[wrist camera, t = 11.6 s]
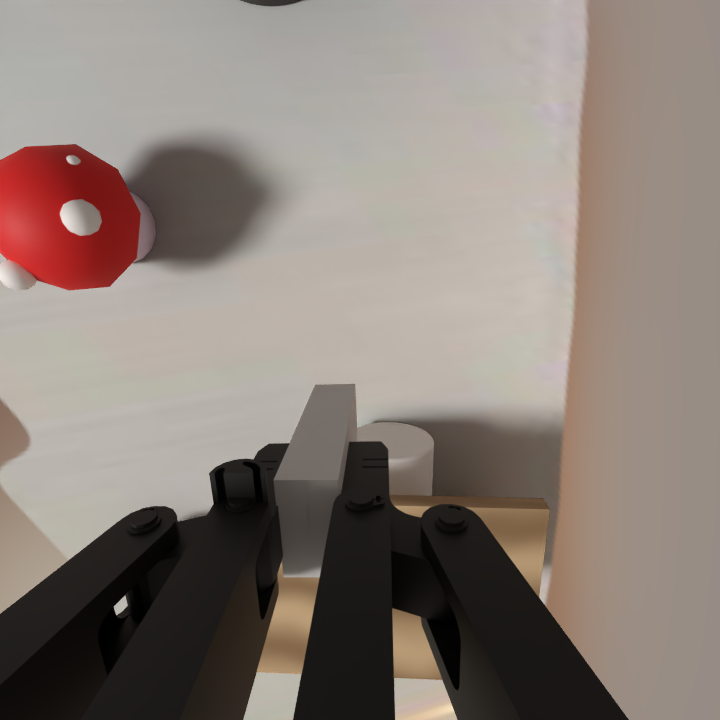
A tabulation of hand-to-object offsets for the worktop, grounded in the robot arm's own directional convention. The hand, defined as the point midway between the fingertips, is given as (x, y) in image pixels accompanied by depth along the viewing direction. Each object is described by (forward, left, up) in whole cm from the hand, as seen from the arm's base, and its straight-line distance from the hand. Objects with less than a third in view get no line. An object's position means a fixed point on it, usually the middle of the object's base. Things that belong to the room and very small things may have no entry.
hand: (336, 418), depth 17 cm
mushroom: (-8, -22, -26) cm, 35 cm away
